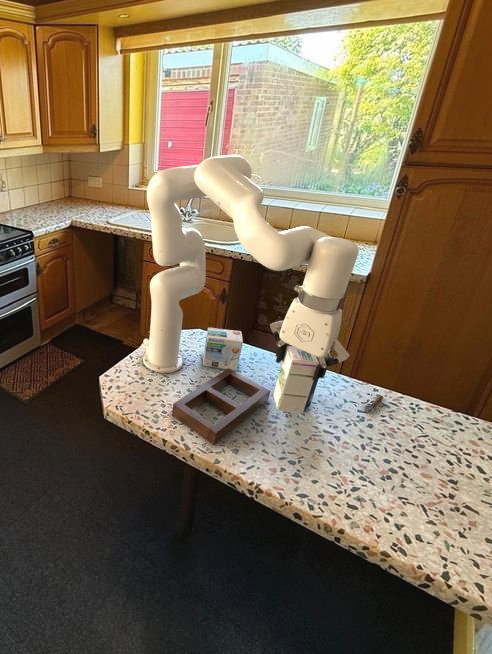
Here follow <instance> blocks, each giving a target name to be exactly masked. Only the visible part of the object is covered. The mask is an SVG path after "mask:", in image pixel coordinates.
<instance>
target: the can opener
mask: <svg viewBox="0 0 492 654" xmlns="http://www.w3.org/2000/svg"><path fill="white" fill-rule="evenodd" d="M382 401H383V396H382V395H379V396H377V397H376V398H375V400H374V401H373V402H372V404H370V405H369V404H367V405H365V406H364V411H367V412H372V410H377V406H378V404H379V403H381V402H382Z"/></svg>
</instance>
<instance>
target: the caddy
mask: <svg viewBox="0 0 492 654" xmlns="http://www.w3.org/2000/svg"><path fill="white" fill-rule="evenodd" d="M227 386H230V387H232V388H233V389H235V390H237V391H239V392H240V393H242V394H244V395H246V396H247V397H249V398H247V399H246V400H245V401H244V402H243V403H241V404H240V403H238V402H237V401H235V400H233V399H232V398H230V397H228V396H226V395H225V394H223V393H222V392H220V391H221V390H222V389H225V387H227ZM270 395H271V390H270V389H268V388H266V387H265V386H262V385H261V384H259V383H257V382H255V381H253V380H252V379H250V378H248V377H246V376H244V375H242V374H240V373H239V372H237V371H235V370H231V369H229V368H228V369H224V370H223V371H222V372H220V373H219V374H217V375H215V376H214V377H212V378H211V379H209V380H208V381H206V382H205V383H203V384H201V385H200V386H198V387H197V388H195V389H194V390H192V391H191V392H189V393H188V394H186V395H184V396H183V397H181V398H180V399H178V400H177V401H175V402H173V404H172V411H171V416H172V417H173V418H175V419H176V420H178V421H179V422H181V423H183V424H184V425H185V426H187V427H188V428H189V429H190V430H191V431H193V432H195V433H196V434H198V435H199V436H200V437H202V438H203V439H205V440H206V441H207V442H209V443H210V444H212V445H213V446H214V445H216V444H217V443H219V442H220V441H221V440H222V439H224V438H225V437H226V436H227V435H229V434H230V433H231V432H232V431H234V430H235V429H236V428H237V427H238V426H240V425H241V424H242V423H243V422H245V421H246V420H247V419H248V418H250V417H251V416H252V415H253V414H254V413H256V412H257V411H258V410H260V409H261V408H262V407H263V406H265V405H266V404H267V403H268V402H269V398H270ZM203 402H206V403H207V404H209V405H210V406H212V407H213V408H215V409H217V410H218V411H220V413H223V414H224V415H225V416H224V417H222V418H221V419H219V421H217V422H216V423H215V424H214V423H212V422H211V421H209V420H207V418H205V417H204V416H202V415H201V414H199V413H197V412H196V411H195V410H194V409H196V407H198V406H199V405H201V404H202V403H203Z"/></svg>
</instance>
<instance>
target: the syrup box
mask: <svg viewBox="0 0 492 654" xmlns="http://www.w3.org/2000/svg"><path fill="white" fill-rule="evenodd" d="M318 364H320V362H319V359H318V357H316V356H314V355H312V354H309V353H307V352H305V351H303V350H300V349H298V348H296V347H294V346H292V345H289V346H287V347H286V351H285V354H284V357H283V360H282V361H281V365H280V368H279V372H278V374H277V375H278V376H277V379H276V383H275V387H274V390H273V393H272V397H273V400H274V404H275V407H276V410H277V411H279V412H284V413H285V412H286V413H293V414H297V415H298V414H299V415H303V413H304V411H305V409H304V408H305V405H306V402H307V399H308V396H309V393H310V390H311V387H312V384H313V380H312V379H313V376H314V373H315V370H316V367H317V365H318Z"/></svg>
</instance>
